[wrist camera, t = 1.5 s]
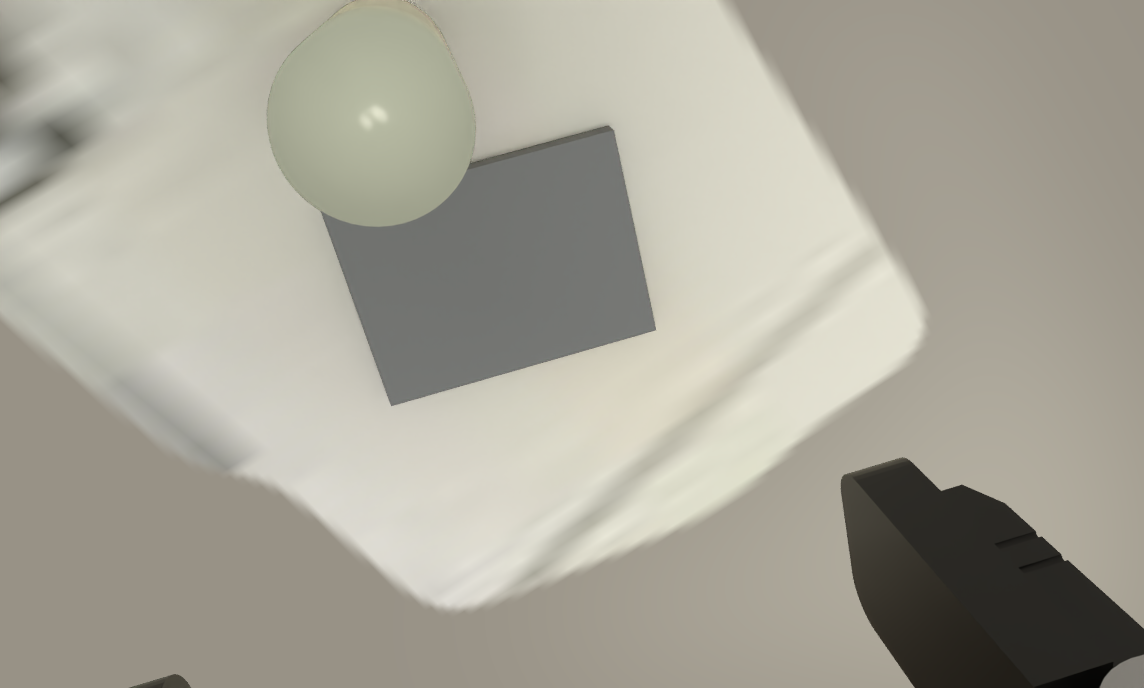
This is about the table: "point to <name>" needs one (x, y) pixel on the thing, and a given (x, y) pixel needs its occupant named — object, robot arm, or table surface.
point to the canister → (372, 115)
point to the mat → (501, 269)
